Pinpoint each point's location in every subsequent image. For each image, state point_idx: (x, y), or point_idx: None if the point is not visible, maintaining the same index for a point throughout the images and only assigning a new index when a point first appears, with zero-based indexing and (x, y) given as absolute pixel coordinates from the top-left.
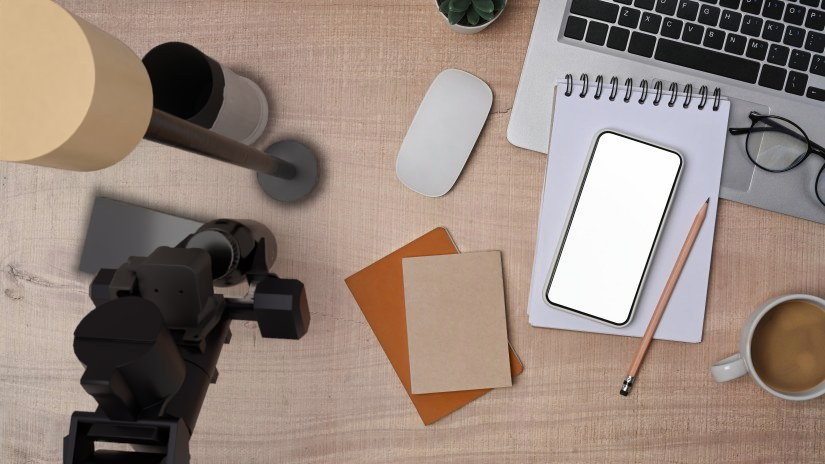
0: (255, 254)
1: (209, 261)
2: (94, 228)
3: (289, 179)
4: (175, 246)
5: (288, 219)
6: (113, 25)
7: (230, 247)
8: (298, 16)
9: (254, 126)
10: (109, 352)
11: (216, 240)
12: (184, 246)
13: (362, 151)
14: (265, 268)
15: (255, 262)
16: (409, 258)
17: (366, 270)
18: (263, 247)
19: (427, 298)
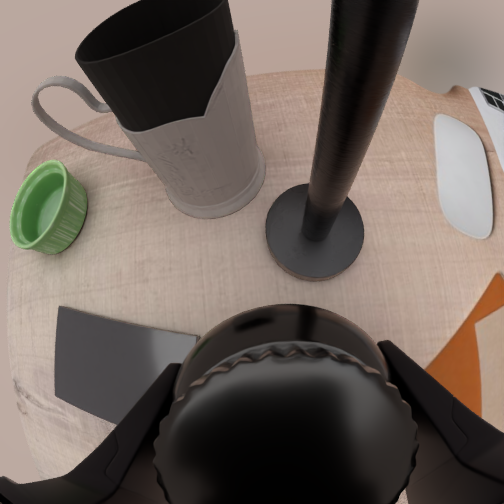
0: (420, 399)
1: None
2: (60, 346)
3: (322, 239)
4: (132, 408)
5: (324, 308)
6: (94, 130)
7: (408, 420)
8: (279, 77)
9: (253, 169)
10: None
11: (328, 407)
12: (158, 410)
13: (401, 193)
14: (492, 431)
15: (448, 427)
16: (480, 321)
17: (441, 355)
18: (417, 368)
19: (498, 362)
